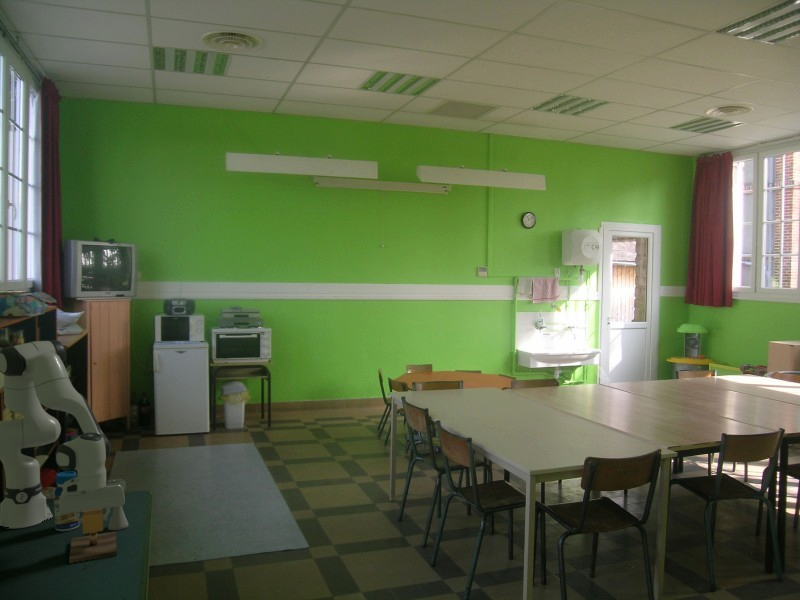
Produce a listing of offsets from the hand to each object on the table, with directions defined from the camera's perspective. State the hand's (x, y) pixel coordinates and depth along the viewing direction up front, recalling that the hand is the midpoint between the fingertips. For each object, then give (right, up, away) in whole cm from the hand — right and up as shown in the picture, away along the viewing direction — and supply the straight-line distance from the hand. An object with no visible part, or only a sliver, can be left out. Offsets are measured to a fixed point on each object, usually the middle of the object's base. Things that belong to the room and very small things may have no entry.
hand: (92, 522), depth 219 cm
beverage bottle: (-19, -9, +19) cm, 28 cm away
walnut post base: (0, -9, 0) cm, 9 cm away
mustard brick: (0, -2, 0) cm, 2 cm away
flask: (0, -9, +19) cm, 21 cm away
